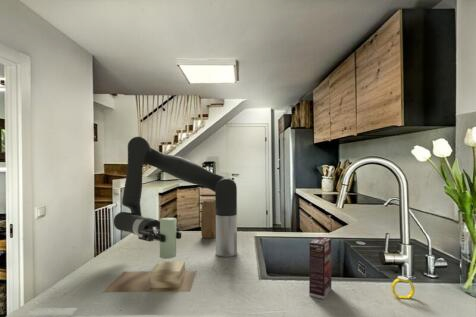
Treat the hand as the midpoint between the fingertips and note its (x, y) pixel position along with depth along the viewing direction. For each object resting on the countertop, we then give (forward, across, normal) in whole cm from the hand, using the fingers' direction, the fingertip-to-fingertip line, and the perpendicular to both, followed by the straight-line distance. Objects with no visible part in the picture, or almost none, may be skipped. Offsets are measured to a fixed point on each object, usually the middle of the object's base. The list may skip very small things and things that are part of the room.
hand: (172, 237), depth 91 cm
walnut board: (-6, -3, +16) cm, 18 cm away
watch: (+54, +44, +16) cm, 72 cm away
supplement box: (+35, +31, +16) cm, 49 cm away
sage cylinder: (-3, 0, +7) cm, 7 cm away
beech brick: (-2, 0, +15) cm, 15 cm away
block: (-41, +49, +16) cm, 66 cm away
